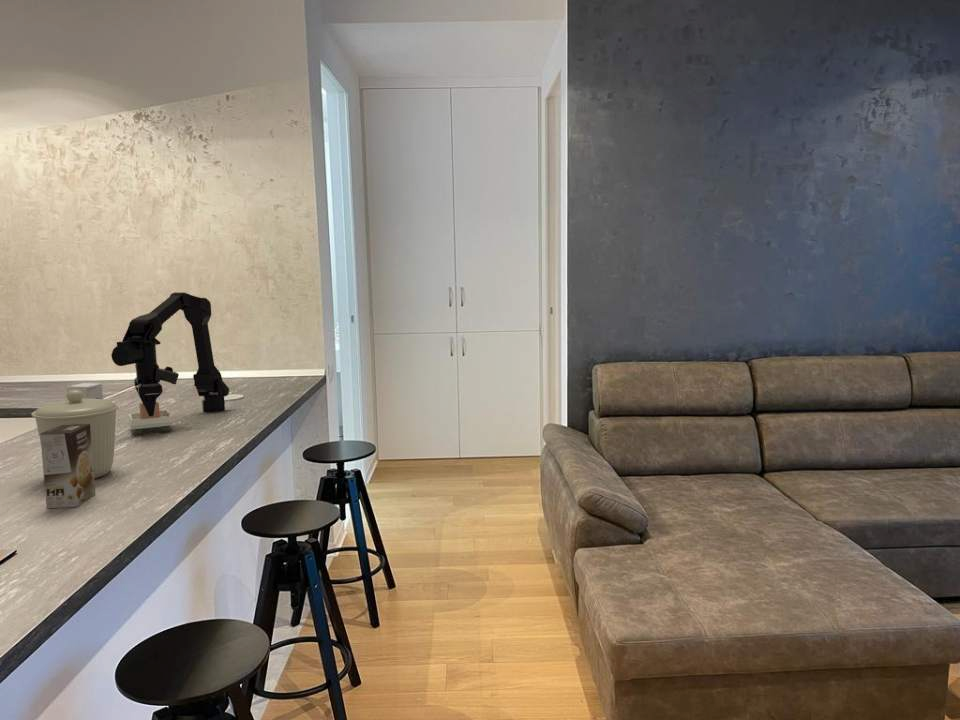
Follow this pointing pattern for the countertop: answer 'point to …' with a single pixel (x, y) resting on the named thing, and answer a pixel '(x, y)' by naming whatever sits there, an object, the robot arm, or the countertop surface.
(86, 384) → the supplement box
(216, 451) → the countertop surface
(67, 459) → the coffee box
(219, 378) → the robot arm
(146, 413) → the block
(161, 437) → the countertop surface
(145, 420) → the white tray
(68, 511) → the countertop surface
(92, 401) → the canister
